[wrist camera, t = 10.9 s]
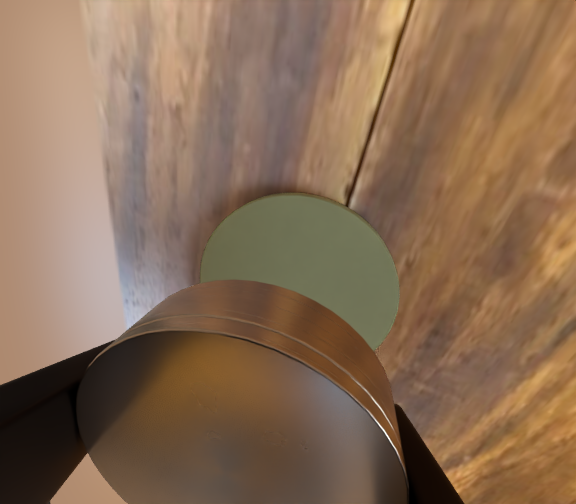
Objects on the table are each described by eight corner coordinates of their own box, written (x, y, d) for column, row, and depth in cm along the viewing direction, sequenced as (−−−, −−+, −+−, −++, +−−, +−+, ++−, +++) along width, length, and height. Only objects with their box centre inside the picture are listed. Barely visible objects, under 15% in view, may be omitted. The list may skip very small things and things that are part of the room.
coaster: (200, 339, 15) (194, 346, 15) (211, 172, 12) (205, 173, 11) (364, 387, 14) (364, 397, 14) (429, 219, 11) (434, 223, 10)
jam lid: (444, 327, 6) (487, 408, 4) (352, 515, 8) (354, 612, 7) (130, 246, 7) (52, 282, 5) (139, 441, 9) (90, 509, 7)
